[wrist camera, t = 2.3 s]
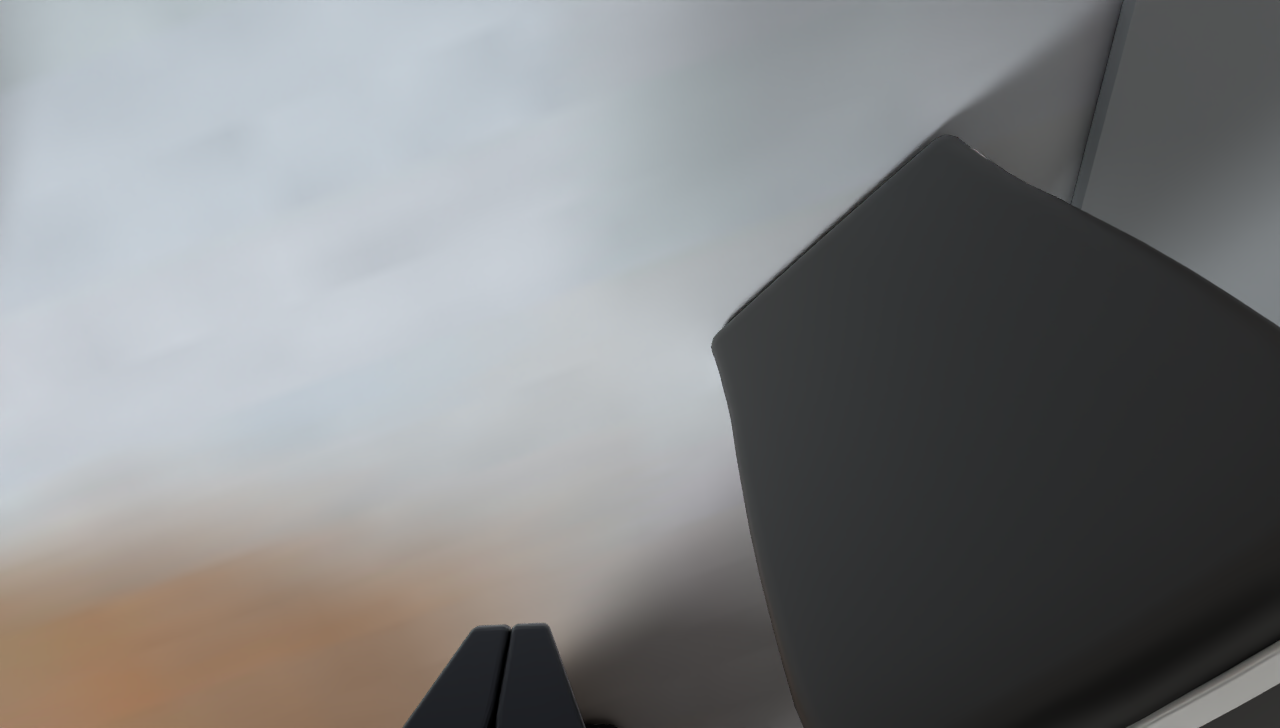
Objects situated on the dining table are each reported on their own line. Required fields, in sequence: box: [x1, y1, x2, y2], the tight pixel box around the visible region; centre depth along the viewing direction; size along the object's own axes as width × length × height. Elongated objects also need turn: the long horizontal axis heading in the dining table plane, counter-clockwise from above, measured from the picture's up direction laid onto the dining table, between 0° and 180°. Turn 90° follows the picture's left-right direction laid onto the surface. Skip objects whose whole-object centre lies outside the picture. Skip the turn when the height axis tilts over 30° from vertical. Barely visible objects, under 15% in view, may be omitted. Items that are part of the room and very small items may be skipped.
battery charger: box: [711, 135, 1280, 728], centre depth 13 cm, size 7×4×11 cm, turn 136°
